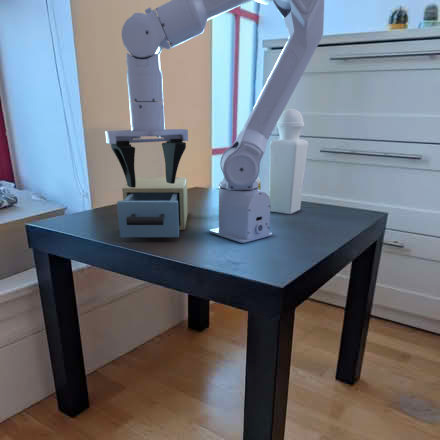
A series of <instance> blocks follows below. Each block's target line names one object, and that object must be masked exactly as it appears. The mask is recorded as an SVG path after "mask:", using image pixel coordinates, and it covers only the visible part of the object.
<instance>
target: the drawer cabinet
mask: <svg viewBox="0 0 440 440" xmlns="http://www.w3.org/2000/svg"><path fill="white" fill-rule="evenodd" d="M135 180H136V187H134V188H131V187H129V186H128V185H127V183H126V184H125V185H123V187H122V188H121V190H122V191H121V192H122V201H124V200H125V199H126V198H127V196H128V195H129V194H130V193H178V197H179V231H185V230H186V225H187V219H188V214H189V212H188V211H189V210H188V209H189V208H188V207H189V206H188V205H189V204H188V178H187V176H185V177H181V176H179V177H178V176H176V178H175V183H174V184H171V183H167V182H166V176H165V177H163V176H161V177H159V176H158V177H156V176H155V177H154V176H153V177H152V176H151V177H150V176H149V177H147V176H146V177H144V176H143V177H142V176H141V177H140V176H139V177H137V176H135Z"/></svg>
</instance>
